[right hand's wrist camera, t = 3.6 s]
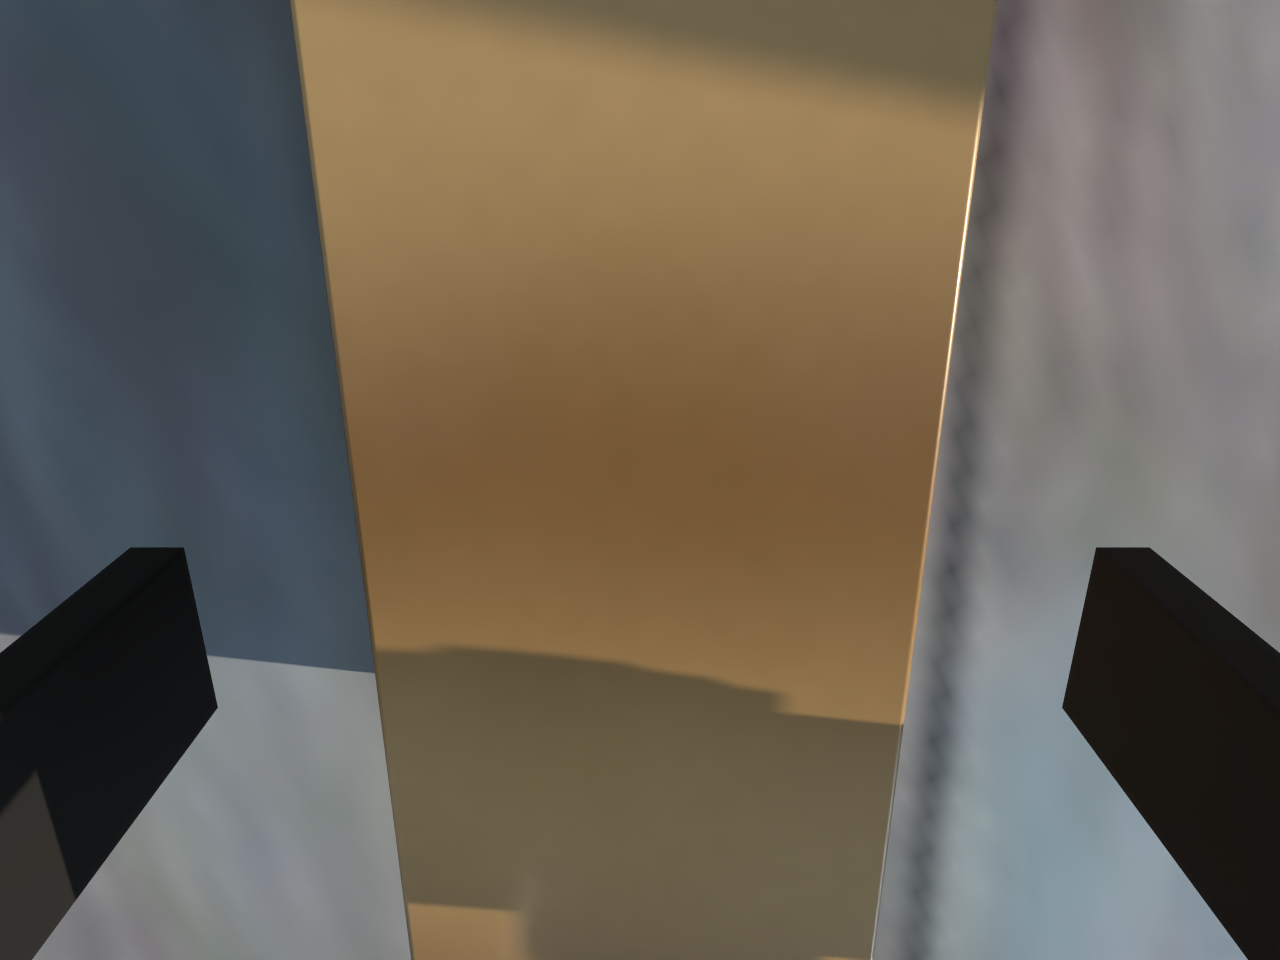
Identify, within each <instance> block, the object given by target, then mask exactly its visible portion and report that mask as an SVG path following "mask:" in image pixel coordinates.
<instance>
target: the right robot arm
mask: <svg viewBox="0 0 1280 960" xmlns="http://www.w3.org/2000/svg"><path fill="white" fill-rule="evenodd" d="M217 708H218V707H217V702H216V697H215V692H214V688H213V683H212V678H211V674H210V669H209V664H208V659H207V655H206V650H205V645H204V641H203V636H202V631H201V626H200V622H199V617H198V612H197V608H196V603H195V598H194V593H193V589H192V584H191V579H190V575H189V570H188V565H187V560H186V556H185V551H184V548H129V549H128V550H127V551H126V552H124V553H123V554H122V555H121V556H119V557H118V558H117V559H116V560H115V561H113V562H112V563H111V564H110V565H108V566H107V567H106V568H105V569H103V570H102V571H101V572H100V573H99V574H97V575H96V576H95V577H94V578H92V579H91V580H90V581H89V582H87V583H86V584H85V585H84V586H82V587H81V588H80V589H79V590H78V591H76V592H75V593H74V594H73V595H71V596H70V597H69V598H68V599H66V600H65V601H64V602H63V603H62V604H60V605H59V606H58V607H57V608H55V609H54V610H53V611H52V612H50V613H49V614H48V615H47V616H45V617H44V618H43V619H42V620H41V621H39V622H38V623H37V624H36V625H34V626H33V627H32V628H31V629H29V630H28V631H27V632H26V633H24V634H23V635H22V636H21V637H20V638H18V639H17V640H16V641H15V642H13V643H12V644H11V645H10V646H8V647H7V648H6V649H5V650H4V651H2V652H1V653H0V960H32V959H33V957H34V956H35V955H36V953H37V952H38V951H39V949H40V948H41V947H42V945H43V944H44V943H45V941H46V940H47V939H48V937H49V936H50V934H51V933H52V932H53V930H54V929H55V928H56V926H57V925H58V924H59V922H60V921H61V920H62V918H63V917H64V915H65V914H66V913H67V911H68V910H69V909H70V907H71V906H72V905H73V903H74V902H75V901H76V899H77V898H78V896H79V895H80V894H81V892H82V891H83V890H84V888H85V887H86V886H87V884H88V883H89V882H90V880H91V879H92V877H93V876H94V875H95V873H96V872H97V871H98V869H99V868H100V867H101V865H102V864H103V863H104V861H105V860H106V858H107V857H108V856H109V854H110V853H111V852H112V850H113V849H114V848H115V846H116V845H117V844H118V842H119V841H120V839H121V838H122V837H123V835H124V834H125V833H126V831H127V830H128V829H129V827H130V826H131V825H132V823H133V822H134V820H135V819H136V818H137V816H138V815H139V814H140V812H141V811H142V810H143V808H144V807H145V806H146V804H147V803H148V801H149V800H150V799H151V797H152V796H153V795H154V793H155V792H156V791H157V789H158V788H159V787H160V785H161V784H162V782H163V781H164V780H165V778H166V777H167V776H168V774H169V773H170V772H171V770H172V769H173V768H174V766H175V765H176V763H177V762H178V761H179V759H180V758H181V757H182V755H183V754H184V753H185V751H186V750H187V749H188V747H189V746H190V744H191V743H192V742H193V740H194V739H195V738H196V736H197V735H198V734H199V732H200V731H201V730H202V728H203V727H204V726H205V724H206V723H207V721H208V720H209V719H210V717H211V716H212V715H213V713H214V712H215V711H216V709H217ZM1062 708H1063V709H1064V711H1065V712H1066V713H1067V715H1068V716H1069V717H1070V719H1071V720H1072V721H1073V723H1074V724H1075V726H1076V727H1077V728H1078V730H1079V731H1080V732H1081V734H1082V735H1083V736H1084V738H1085V739H1086V740H1087V742H1088V743H1089V744H1090V746H1091V747H1092V749H1093V750H1094V751H1095V753H1096V754H1097V755H1098V757H1099V758H1100V759H1101V761H1102V762H1103V763H1104V765H1105V766H1106V768H1107V769H1108V770H1109V772H1110V773H1111V774H1112V776H1113V777H1114V778H1115V780H1116V781H1117V782H1118V784H1119V785H1120V787H1121V788H1122V789H1123V791H1124V792H1125V793H1126V795H1127V796H1128V797H1129V799H1130V800H1131V801H1132V803H1133V804H1134V806H1135V807H1136V808H1137V810H1138V811H1139V812H1140V814H1141V815H1142V816H1143V818H1144V819H1145V820H1146V822H1147V823H1148V825H1149V826H1150V827H1151V829H1152V830H1153V831H1154V833H1155V834H1156V835H1157V837H1158V838H1159V839H1160V841H1161V842H1162V844H1163V845H1164V846H1165V848H1166V849H1167V850H1168V852H1169V853H1170V854H1171V856H1172V857H1173V858H1174V860H1175V861H1176V863H1177V864H1178V865H1179V867H1180V868H1181V869H1182V871H1183V872H1184V873H1185V875H1186V876H1187V877H1188V879H1189V880H1190V882H1191V883H1192V884H1193V886H1194V887H1195V888H1196V890H1197V891H1198V892H1199V894H1200V895H1201V896H1202V898H1203V899H1204V901H1205V902H1206V903H1207V905H1208V906H1209V907H1210V909H1211V910H1212V911H1213V913H1214V914H1215V915H1216V917H1217V918H1218V920H1219V921H1220V922H1221V924H1222V925H1223V926H1224V928H1225V929H1226V930H1227V932H1228V933H1229V934H1230V936H1231V937H1232V939H1233V940H1234V941H1235V943H1236V944H1237V945H1238V947H1239V948H1240V949H1241V951H1242V952H1243V953H1244V955H1245V956H1246V957H1247V959H1248V960H1280V653H1279V652H1278V651H1276V650H1275V649H1274V648H1273V647H1272V646H1270V645H1269V644H1268V643H1267V642H1265V641H1264V640H1263V639H1262V638H1260V637H1259V636H1258V635H1257V634H1256V633H1254V632H1253V631H1252V630H1251V629H1249V628H1248V627H1247V626H1246V625H1244V624H1243V623H1242V622H1241V621H1239V620H1238V619H1237V618H1236V617H1235V616H1233V615H1232V614H1231V613H1230V612H1228V611H1227V610H1226V609H1225V608H1223V607H1222V606H1221V605H1220V604H1218V603H1217V602H1216V601H1215V600H1214V599H1212V598H1211V597H1210V596H1209V595H1207V594H1206V593H1205V592H1204V591H1202V590H1201V589H1200V588H1199V587H1198V586H1196V585H1195V584H1194V583H1193V582H1191V581H1190V580H1189V579H1188V578H1186V577H1185V576H1184V575H1183V574H1181V573H1180V572H1179V571H1178V570H1177V569H1175V568H1174V567H1173V566H1172V565H1170V564H1169V563H1168V562H1167V561H1165V560H1164V559H1163V558H1162V557H1161V556H1159V555H1158V554H1157V553H1156V552H1154V551H1153V550H1152V549H1151V548H1096V551H1095V556H1094V560H1093V565H1092V570H1091V575H1090V579H1089V584H1088V589H1087V593H1086V598H1085V603H1084V608H1083V612H1082V617H1081V622H1080V626H1079V631H1078V636H1077V641H1076V645H1075V650H1074V655H1073V659H1072V664H1071V669H1070V674H1069V678H1068V683H1067V688H1066V692H1065V697H1064V702H1063V707H1062Z"/></svg>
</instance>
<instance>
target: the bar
mask: <svg viewBox="0 0 1280 960" xmlns="http://www.w3.org/2000/svg"><path fill="white" fill-rule="evenodd" d="M996 4H997V0H290V6H291V14H292V22H293V30H294V37H295V45H296V53H297V61H298V69H299V77H300V85H301V93H302V101H303V108H304V116H305V124H306V132H307V140H308V148H309V156H310V164H311V172H312V180H313V187H314V195H315V203H316V211H317V219H318V227H319V235H320V243H321V251H322V258H323V266H324V274H325V282H326V290H327V298H328V306H329V314H330V322H331V329H332V337H333V345H334V353H335V361H336V369H337V377H338V385H339V393H340V401H341V408H342V416H343V424H344V432H345V440H346V448H347V456H348V464H349V472H350V479H351V487H352V495H353V503H354V511H355V519H356V527H357V535H358V543H359V550H360V558H361V566H362V574H363V582H364V590H365V598H366V606H367V614H368V622H369V629H370V637H371V645H372V653H373V661H374V669H375V677H376V685H377V693H378V700H379V708H380V716H381V724H382V732H383V740H384V748H385V756H386V764H387V771H388V779H389V787H390V795H391V803H392V811H393V819H394V827H395V835H396V843H397V850H398V858H399V866H400V874H401V882H402V890H403V898H404V906H405V914H406V921H407V929H408V937H409V945H410V953H411V960H873V957H874V949H875V942H876V934H877V926H878V918H879V911H880V903H881V895H882V887H883V880H884V872H885V864H886V856H887V849H888V841H889V833H890V826H891V818H892V810H893V802H894V795H895V787H896V779H897V771H898V764H899V756H900V748H901V740H902V733H903V725H904V717H905V709H906V702H907V694H908V686H909V678H910V671H911V663H912V655H913V647H914V640H915V632H916V624H917V616H918V609H919V601H920V593H921V585H922V578H923V570H924V562H925V554H926V547H927V539H928V531H929V523H930V516H931V508H932V500H933V492H934V485H935V477H936V469H937V461H938V454H939V446H940V438H941V430H942V423H943V415H944V407H945V399H946V392H947V384H948V376H949V368H950V361H951V353H952V345H953V338H954V330H955V322H956V314H957V307H958V299H959V291H960V283H961V276H962V268H963V260H964V252H965V245H966V237H967V229H968V221H969V214H970V206H971V198H972V190H973V183H974V175H975V167H976V159H977V152H978V144H979V136H980V128H981V121H982V113H983V105H984V97H985V90H986V82H987V74H988V66H989V59H990V51H991V43H992V35H993V28H994V20H995V12H996Z"/></svg>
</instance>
